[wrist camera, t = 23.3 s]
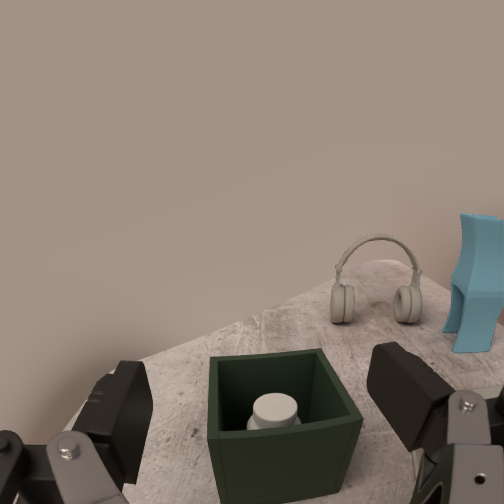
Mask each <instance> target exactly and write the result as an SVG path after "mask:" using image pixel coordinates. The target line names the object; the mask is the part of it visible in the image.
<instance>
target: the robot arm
mask: <svg viewBox="0 0 504 504" xmlns="http://www.w3.org/2000/svg"><path fill="white" fill-rule="evenodd" d="M367 390H368V393H369V395H370V396H371V398H372V399H373V401H374V402H375V404H376V405H377V406H378V408H379V409H380V411H381V412H382V414H383V415H384V416H385V418H386V419H387V421H388V422H389V424H390V425H391V427H392V428H393V429H394V431H395V432H396V434H397V435H398V437H399V438H400V440H401V441H402V443H403V444H404V446H405V447H406V448H407V450H408V451H409V452H412V451H414V450H417V449H419V448H422V449H423V450H424V452H423V454H422V456H421V459H420V465H419V470H418V475H417V479H416V484H415V488H414V492H413V496H412V499H411V501H410V503H409V504H504V386H503V387H502V389H501V391H500V394H499V396H498V397H494V398H489V399H484V398H483V397H482V396H481V395H480V394H478V393H476V392H474V391H470V390H460V391H455V390H454V389H453V388H452V387H451V386H450V385H449V384H448V383H447V382H446V381H444V380H443V379H442V378H441V377H440V376H439V375H438V374H437V373H436V372H433V369H432V368H430V367H429V366H427V364H426V363H425V362H424V361H423V360H422V359H421V358H420V357H418V356H416V355H414V354H412V353H410V352H406V351H405V350H404V349H403V348H402V347H401V346H400V345H399V344H398V343H397V342H389V343H383V344H378V345H375V347H374V348H373V352H372V357H371V362H370V367H369V372H368V376H367ZM87 400H88V401H87V402H86V403H85V405H84V407H83V409H82V410H81V412H80V414H79V416H78V418H77V420H76V422H75V424H74V426H73V428H72V430H71V431H64V432H61V433H59V434H57V435H55V436H54V437H52V438H51V440H50V441H49V442H48V444H47V445H24V443H23V442H22V440H21V439H20V437H19V436H18V435H17V434H16V433H15V432H12V431H7V430H3V431H0V504H13V502H14V499H15V497H16V494H17V492H18V494H19V496H18V499H17V502H16V504H129V503H128V501H127V500H126V498H125V496H124V495H123V493H122V489H123V485H124V483H128V484H135V485H136V482H137V477H138V472H139V468H140V463H141V459H142V454H143V450H144V446H145V441H146V437H147V433H148V429H149V425H150V421H151V417H152V412H153V399H152V394H151V390H150V386H149V382H148V378H147V374H146V369H145V366H144V363H143V362H142V361H123V360H122V361H120V363H119V364H118V366H117V368H116V370H115V372H114V374H106V375H105V376H104V377H102V378H101V379H100V380H99V381H97V383H96V385H95V386H94V388H93V390H92V394H90V396H89V397H88V399H87Z"/></svg>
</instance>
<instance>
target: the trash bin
mask: <svg viewBox="0 0 504 504" xmlns="http://www.w3.org/2000/svg"><path fill="white" fill-rule="evenodd" d="M270 393H281V394H285V395H288V396H290V397H292V398H293V399H294V400H295V401H296V403H297V416H298V418H299V419H300V421H301V424H299V425H291V426H284V427H275V428H266V429H255V430H247V423H248V420H249V419H250V417H251V416H252V415H253V405H254V403H255V401H256V400H257V399H258V398H259V397H261V396H263V395H266V394H270ZM363 419H364V418H363V417H362V415H361V413H360V412H359V410H358V408H357V407H356V405H355V403H354V402H353V400H352V399H351V397H350V395H349V394H348V392H347V390H346V389H345V387H344V385H343V384H342V382H341V381H340V379H339V377H338V376H337V374H336V372H335V371H334V369H333V367H332V366H331V364H330V363H329V361H328V359H327V358H326V356H325V354H324V353H323V351H322V349H321V348H317V349H309V350H300V351H291V352H280V353H269V354H256V355H240V356H220V357H210V371H209V394H208V423H207V441H208V446H209V452H210V457H211V461H212V466H213V471H214V476H215V480H216V485H217V489H218V493H219V498H220V502H221V504H280V503H287V502H293V501H300V500H305V499H311V498H316V497H320V496H325V495H329V494H334V493H338V492H339V490H340V487H341V485H342V482H343V480H344V477H345V474H346V472H347V469H348V466H349V463H350V461H351V458H352V455H353V452H354V449H355V446H356V443H357V439H358V436H359V433H360V430H361V426H362V423H363Z"/></svg>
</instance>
